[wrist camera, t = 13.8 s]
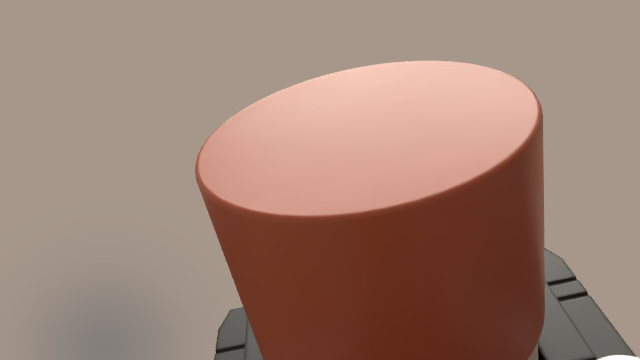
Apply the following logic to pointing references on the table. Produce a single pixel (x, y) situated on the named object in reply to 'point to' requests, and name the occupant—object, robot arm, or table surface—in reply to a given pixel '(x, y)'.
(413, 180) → the marker
